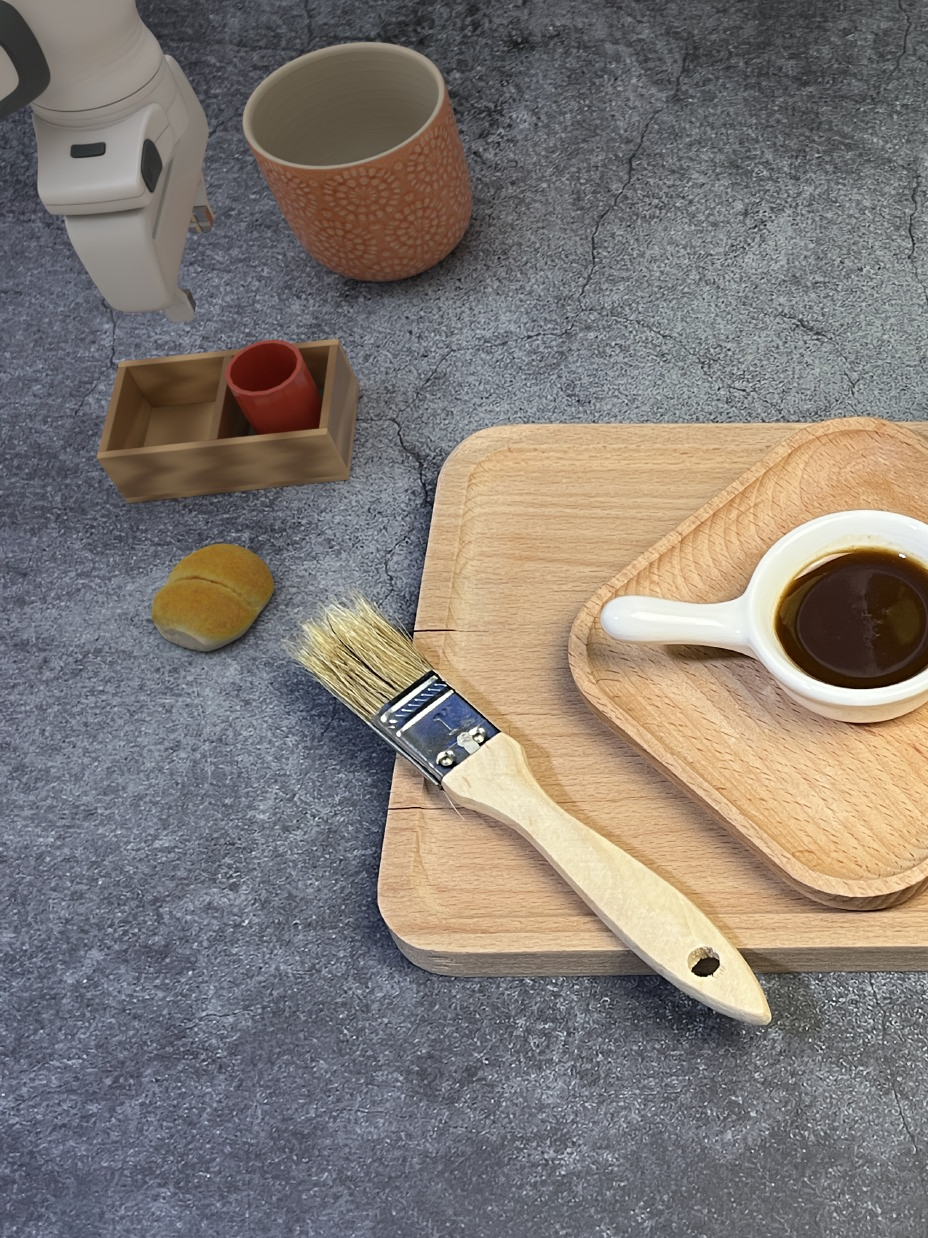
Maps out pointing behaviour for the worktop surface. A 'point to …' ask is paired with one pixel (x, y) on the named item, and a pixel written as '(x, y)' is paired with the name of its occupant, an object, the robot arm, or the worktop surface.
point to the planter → (363, 158)
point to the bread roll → (212, 597)
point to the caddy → (220, 428)
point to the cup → (274, 388)
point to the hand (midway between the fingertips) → (194, 270)
